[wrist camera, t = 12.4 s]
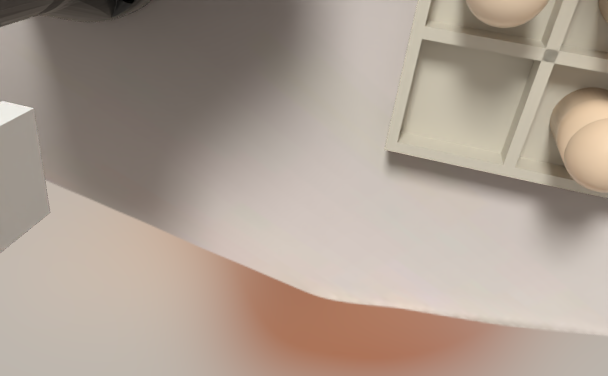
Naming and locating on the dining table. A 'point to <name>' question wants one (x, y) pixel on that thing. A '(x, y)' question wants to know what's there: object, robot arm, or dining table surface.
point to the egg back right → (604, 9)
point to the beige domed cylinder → (506, 11)
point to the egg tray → (496, 87)
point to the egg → (583, 136)
